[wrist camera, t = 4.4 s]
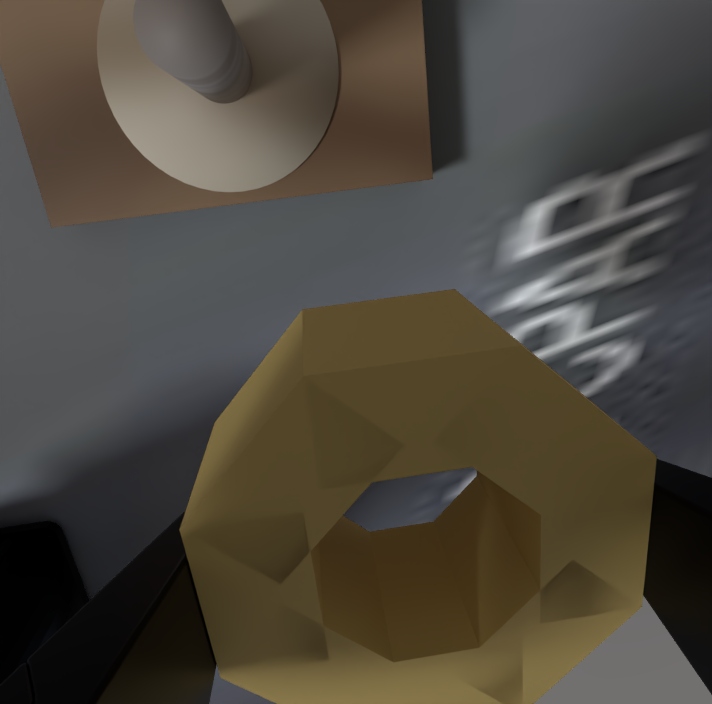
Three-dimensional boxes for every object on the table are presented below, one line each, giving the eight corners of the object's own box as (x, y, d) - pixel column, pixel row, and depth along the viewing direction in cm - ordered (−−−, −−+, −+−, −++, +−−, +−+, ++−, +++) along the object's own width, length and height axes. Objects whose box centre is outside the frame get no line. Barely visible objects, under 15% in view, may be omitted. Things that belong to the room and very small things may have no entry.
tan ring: (552, 564, 12) (633, 693, 9) (257, 611, 11) (244, 762, 8) (559, 274, 9) (669, 324, 7) (192, 323, 9) (142, 398, 6)
